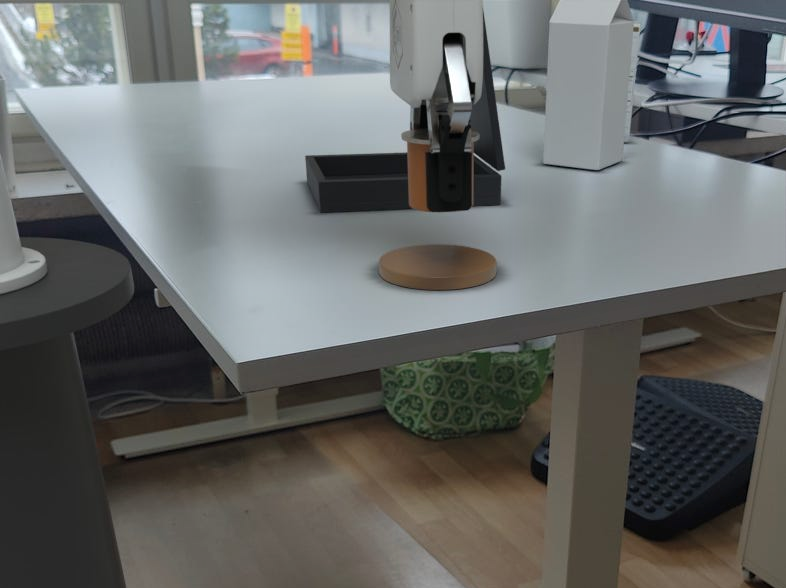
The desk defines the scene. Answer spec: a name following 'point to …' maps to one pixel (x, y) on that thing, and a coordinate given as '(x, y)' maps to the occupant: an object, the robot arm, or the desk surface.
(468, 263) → the coaster
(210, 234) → the desk surface
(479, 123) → the holder lid
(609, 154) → the milk carton
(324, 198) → the tray
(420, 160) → the coffee pod
